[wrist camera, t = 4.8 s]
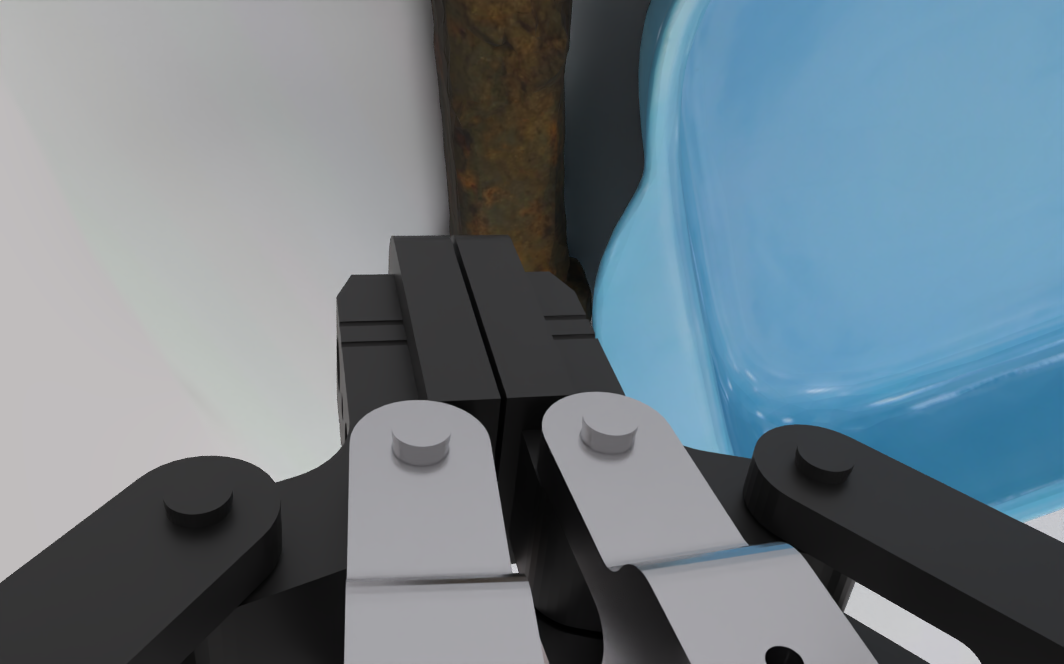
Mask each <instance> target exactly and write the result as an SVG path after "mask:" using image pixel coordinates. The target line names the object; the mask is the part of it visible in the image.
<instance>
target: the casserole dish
mask: <svg viewBox="0 0 1064 664" xmlns="http://www.w3.org/2000/svg"><path fill="white" fill-rule="evenodd" d="M638 80H639V106H640V121H641V132H642V141H643V149H644V169H643V176H642V178H641V180H640V182H639V185H638V187H637V189H636V191H635V193H634V195H633V196H632V198H631V200H630V202H629V203H628V205H627V207H626V209H625V210H624V212H623V214H622V216H621V217H620V219H619V221H618V223H617V224H616V226H615V228H614V230H613V232H612V234H611V237H610V239H609V242H608V244H607V247H606V249H605V251H604V254H603V256H602V259H601V261H600V264H599V268H598V272H597V275H596V279H595V286H594V294H593V305H592V322H593V330H594V332H595V339H596V338H598V340H599V342H600V344H601V346H602V348H603V350H604V352H605V354H606V356H607V359H608V361H609V363H610V365H611V367H612V369H613V371H614V373H615V375H616V377H617V379H618V381H619V383H620V385H621V387H622V389H623V391H624V393H625V395H626V396H627V397H630V398H633V399H635V400H638V401H640V402H642V403H644V404H646V405H648V406H650V407H651V408H653V409H654V410H656V411H657V412H658V413H659V414H660V415H662V416H663V417H664V418H665V420H666V421H667V422H668V423H669V425H670V426H671V428H672V429H673V431H674V432H675V434H676V435H677V437H678V438H679V440H680V442H681V443H682V445H683V446H687V447H690V448H693V449H698V450H703V451H708V452H714V453H720V454H726V455H732V456H738V457H744V458H750V459H751V458H752V455H753V451H754V448H755V445H756V443H757V441H758V439H759V438H760V437H761V436H762V435H763V434H764V433H766V432H767V431H769V430H771V429H774V428H776V427H780V426H784V425H794V424H800V425H812V426H819V427H823V428H827V429H831V430H834V431H837V432H840V433H842V434H844V435H846V436H849V437H851V438H853V439H855V440H857V441H859V442H861V443H863V444H865V445H867V446H869V447H871V448H873V449H875V450H877V451H879V452H881V453H883V454H885V455H887V456H889V457H891V458H893V459H895V460H897V461H899V462H901V463H903V464H905V465H907V466H909V467H911V468H913V469H915V470H917V471H919V472H921V473H923V474H925V475H928V476H930V477H932V478H934V479H936V480H938V481H940V482H942V483H944V484H946V485H948V486H950V487H952V488H954V489H956V490H958V491H960V492H962V493H964V494H966V495H968V496H970V497H972V498H974V499H976V500H978V501H980V502H982V503H984V504H986V505H988V506H990V507H992V508H994V509H996V510H998V511H1000V512H1002V513H1004V514H1006V515H1008V516H1010V517H1012V518H1014V519H1016V520H1018V521H1020V522H1022V523H1024V522H1027V521H1029V520H1032V519H1035V518H1038V517H1041V516H1044V515H1046V514H1049V513H1052V512H1055V511H1058V510H1061V509H1063V508H1064V0H651V2H650V5H649V7H648V10H647V14H646V19H645V23H644V28H643V34H642V39H641V45H640V57H639V71H638Z"/></svg>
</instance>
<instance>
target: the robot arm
mask: <svg viewBox="0 0 1064 664" xmlns="http://www.w3.org/2000/svg"><path fill="white" fill-rule="evenodd" d="M337 403H338V414H339V423H340V437H341V445H342V447H341V448H340V450H339V451H338V452H337V453H336V454H335V455H334V456H333V457H332V458H331V459H329V460H328V461H327V462H325V463H324V464H322V465H321V466H319V467H317V468H315V469H313V470H311V471H309V472H307V473H304V474H302V475H299V476H296V477H293V478H290V479H286V480H283V481H280V482H276V483H275V482H274V481H273V479H272V478H271V477H270V476H269V475H268V474H267V473H266V472H264V471H263V470H262V469H261V468H259V467H257V466H255V465H253V464H251V463H248V462H246V461H243V460H240V459H235V458H230V457H222V456H199V457H191V458H185V459H181V460H177V461H173V462H170V463H168V464H165V465H162V466H160V467H158V468H156V469H154V470H152V471H150V472H148V473H146V474H145V475H143V476H142V477H141V478H139V479H138V480H136V481H135V482H134V483H132V484H131V485H130V486H128V487H127V488H126V489H124V490H123V491H122V492H120V493H119V494H118V495H116V496H115V497H114V498H112V499H111V500H110V501H108V502H107V503H106V504H105V505H103V506H102V507H101V508H99V509H98V510H96V511H95V512H94V513H92V514H91V515H90V516H88V517H87V518H86V519H84V520H83V521H82V522H80V523H79V524H78V525H76V526H75V527H74V528H73V529H71V530H70V531H68V532H67V533H66V534H65V535H63V536H62V537H61V538H59V539H58V540H57V541H55V542H54V543H53V544H51V545H50V546H49V547H47V548H46V549H45V550H43V551H42V552H41V553H39V554H38V555H37V556H35V557H34V558H33V559H31V560H30V561H29V562H27V563H26V564H25V565H23V566H22V567H21V568H19V569H18V570H17V571H15V572H14V573H13V574H11V575H10V576H9V577H7V578H6V579H5V580H4V581H2V582H1V583H0V664H930V663H928V662H926V661H925V660H923V659H921V658H920V657H918V656H916V655H915V654H913V653H911V652H909V651H908V650H906V649H904V648H903V647H901V646H899V645H898V644H896V643H894V642H893V641H891V640H889V639H888V638H886V637H884V636H882V635H881V634H879V633H877V632H876V631H874V630H872V629H871V628H869V627H867V626H866V625H864V624H862V623H861V622H859V621H857V620H855V619H854V618H852V617H850V616H849V615H847V614H845V613H844V610H845V607H846V605H847V602H848V600H849V597H850V594H851V592H852V589H853V587H854V584H855V582H858V583H859V584H861V585H863V586H865V587H866V588H868V589H870V590H872V591H873V592H875V593H877V594H879V595H880V596H882V597H884V598H886V599H887V600H889V601H891V602H893V603H894V604H896V605H898V606H900V607H901V608H903V609H905V610H907V611H908V612H910V613H912V614H914V615H915V616H917V617H919V618H921V619H922V620H924V621H926V622H928V623H929V624H931V625H933V626H935V627H936V628H938V629H940V630H942V631H943V632H945V633H947V634H949V635H950V636H952V637H954V638H956V639H957V640H959V641H960V642H962V643H963V644H965V645H966V646H967V647H968V648H970V649H971V650H972V651H973V653H974V654H975V655H976V656H977V657H978V659H979V660H980V662H981V664H1064V543H1063V542H1061V541H1059V540H1057V539H1055V538H1053V537H1051V536H1049V535H1047V534H1045V533H1043V532H1040V531H1038V530H1036V529H1034V528H1032V527H1030V526H1028V525H1026V524H1024V523H1022V522H1020V521H1018V520H1016V519H1014V518H1012V517H1010V516H1008V515H1006V514H1004V513H1002V512H1000V511H998V510H996V509H994V508H992V507H990V506H988V505H986V504H984V503H982V502H980V501H978V500H976V499H974V498H972V497H970V496H968V495H966V494H964V493H962V492H960V491H958V490H956V489H954V488H952V487H950V486H948V485H946V484H944V483H942V482H940V481H938V480H936V479H934V478H932V477H930V476H928V475H925V474H923V473H921V472H919V471H917V470H915V469H913V468H911V467H909V466H907V465H905V464H903V463H901V462H899V461H897V460H895V459H893V458H891V457H889V456H887V455H885V454H883V453H881V452H879V451H877V450H875V449H873V448H871V447H869V446H867V445H865V444H863V443H861V442H859V441H857V440H855V439H853V438H851V437H849V436H846V435H844V434H842V433H840V432H837V431H834V430H831V429H827V428H823V427H819V426H812V425H800V424H794V425H784V426H780V427H776V428H774V429H771V430H769V431H767V432H766V433H764V434H763V435H762V436H761V437H760V438H759V439H758V441H757V443H756V445H755V448H754V451H753V455H752V458H751V459H750V458H744V457H738V456H732V455H726V454H720V453H714V452H708V451H703V450H698V449H693V448H690V447H687V446H683V445H682V443H681V442H680V440H679V438H678V437H677V435H676V434H675V432H674V431H673V429H672V428H671V426H670V425H669V423H668V422H667V421H666V420H665V418H664V417H663V416H662V415H660V414H659V413H658V412H657V411H656V410H654V409H653V408H651V407H650V406H648V405H646V404H644V403H642V402H640V401H638V400H635V399H633V398H630V397H627V396H626V395H625V393H624V391H623V389H622V387H621V385H620V383H619V381H618V379H617V377H616V375H615V373H614V371H613V369H612V367H611V365H610V363H609V361H608V359H607V356H606V354H605V352H604V350H603V348H602V346H601V344H600V342H599V340H598V338H596V339H595V332H594V330H593V328H592V326H591V324H590V322H589V320H588V319H586V314H585V311H584V309H583V307H582V305H581V303H580V301H579V299H578V297H577V295H576V293H575V291H573V290H572V289H571V288H570V287H568V286H567V285H566V284H565V283H563V282H562V281H561V280H559V279H558V278H557V277H556V276H554V275H553V274H552V273H551V272H525V271H524V268H523V266H522V264H521V261H520V259H519V256H518V254H517V252H516V249H515V247H514V245H513V242H512V240H511V238H510V236H509V235H452V236H451V239H450V237H449V236H391V239H390V246H389V271H388V274H380V275H351V276H350V278H349V279H348V281H347V282H346V284H345V285H344V287H343V288H342V290H341V291H340V293H339V294H338V296H337ZM515 563H516V564H517V568H518V572H519V573H512V568H511V564H515Z"/></svg>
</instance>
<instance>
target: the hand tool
mask: <svg viewBox="0 0 1064 664" xmlns="http://www.w3.org/2000/svg"><path fill="white" fill-rule="evenodd" d="M431 2H432V11H433V20H434V51H435V59H436V66H437V74H438V85H439V96H440V107H441V113H442V122H443V137H444V153H445V161H446V172H447V184H448V196H449V209H450V226H449V228H450V239H451V236H452V235H509V236H510V238H511V240H512V242H513V245H514V247H515V249H516V252H517V254H518V256H519V259H520V261H521V264H522V266H523V268H524V271H525V272H551V273H552V274H553V275H554V276H556V277H557V278H558V279H559V280H561V281H562V282H563V283H565V284H566V285H567V286H568V287H570V288H571V289H572V290H573V291H575V293H576V295H577V297H578V299H579V301H580V303H581V305H582V307H583V309H584V311H585V314H586V319H588V320H589V322H590V321H591V316H592V293H591V290H590V287H589V284H588V282H587V279H586V276H585V272H584V269H583V267H582V265H581V264H580V262H579V261H578V260H577V259H576V258H572V257H569V251H568V246H567V233H566V214H565V206H564V178H565V168H564V143H565V96H564V74H565V63H566V57H567V53H568V51H569V42H570V25H571V13H572V0H431Z"/></svg>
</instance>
